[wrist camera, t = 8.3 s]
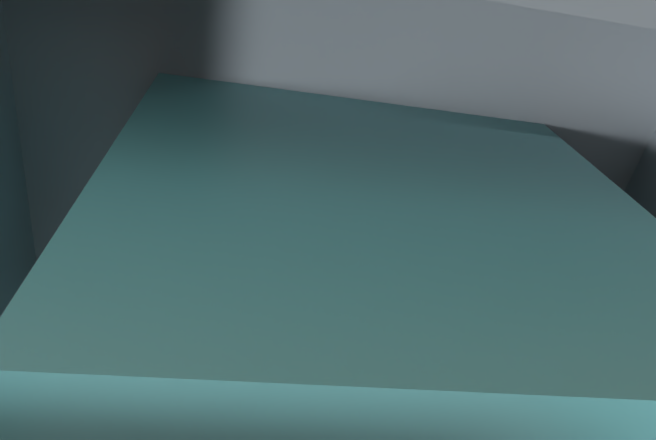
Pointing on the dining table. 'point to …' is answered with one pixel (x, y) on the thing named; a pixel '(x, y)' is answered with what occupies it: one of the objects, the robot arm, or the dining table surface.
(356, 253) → the small crate
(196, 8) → the big crate
